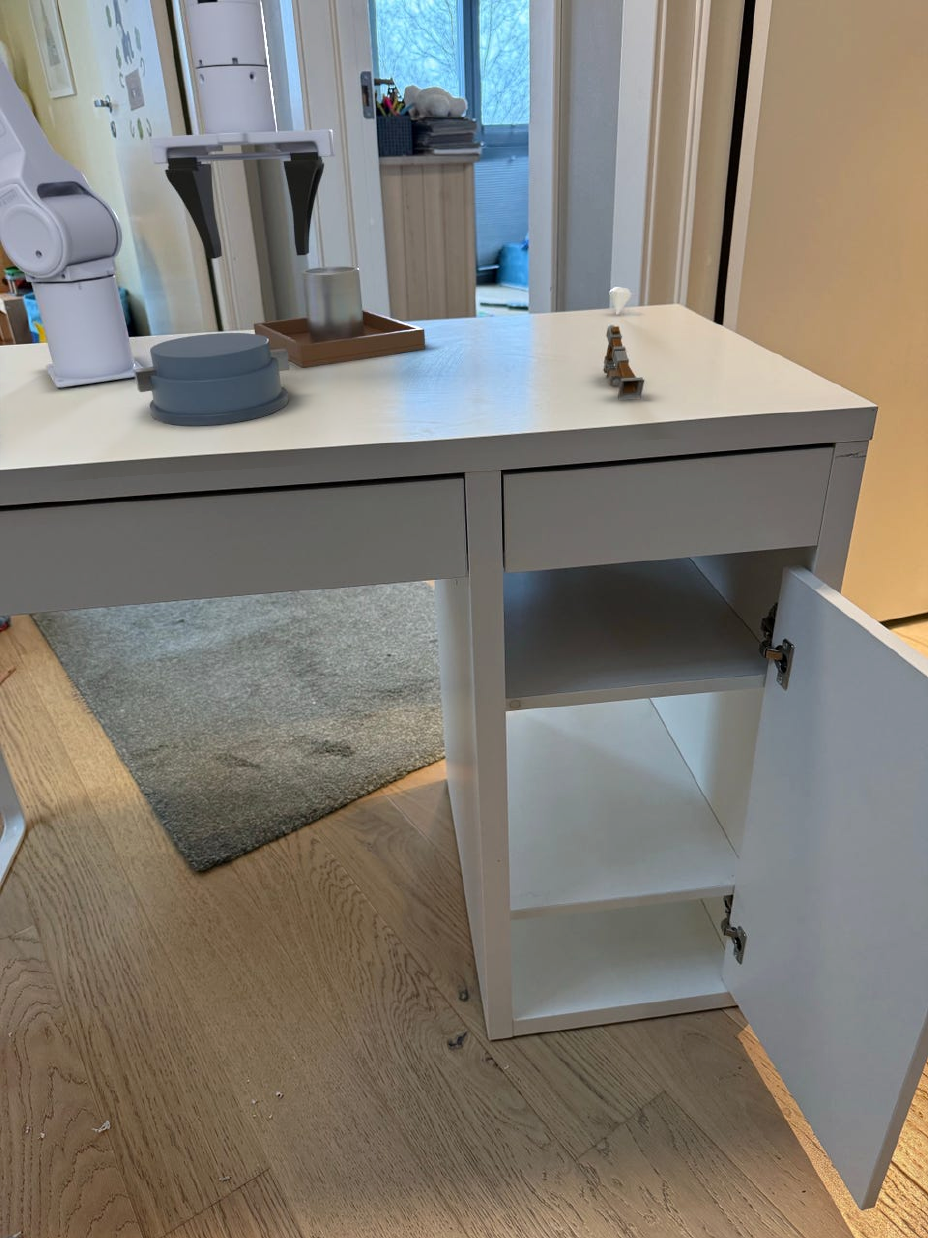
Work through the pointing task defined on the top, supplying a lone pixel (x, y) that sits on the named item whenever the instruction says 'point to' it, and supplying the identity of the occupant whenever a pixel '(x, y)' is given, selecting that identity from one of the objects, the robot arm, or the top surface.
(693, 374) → the top surface
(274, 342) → the tray
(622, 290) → the gemstone
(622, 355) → the brown grey angular piece
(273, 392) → the lidded cooking pot
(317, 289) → the cup
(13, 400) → the top surface
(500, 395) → the top surface
